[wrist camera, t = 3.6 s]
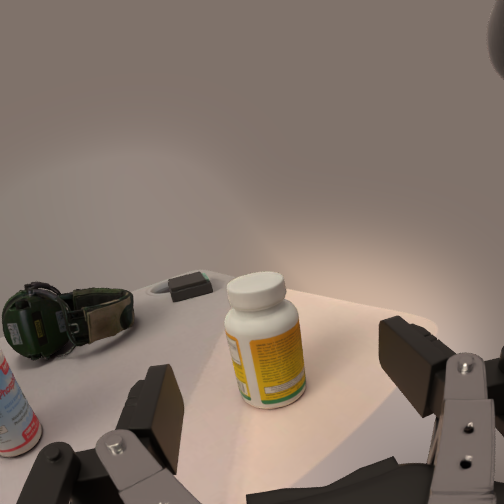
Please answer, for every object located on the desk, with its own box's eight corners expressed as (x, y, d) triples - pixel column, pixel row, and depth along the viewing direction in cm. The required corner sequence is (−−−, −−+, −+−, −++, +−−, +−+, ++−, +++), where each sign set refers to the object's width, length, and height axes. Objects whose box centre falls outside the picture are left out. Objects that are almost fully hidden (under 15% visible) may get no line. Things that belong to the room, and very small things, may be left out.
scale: (205, 281, 57) (202, 270, 56) (213, 292, 50) (210, 279, 50) (169, 290, 55) (166, 279, 54) (173, 302, 48) (169, 289, 48)
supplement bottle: (229, 402, 23) (199, 294, 21) (261, 367, 28) (241, 268, 25) (290, 417, 20) (271, 298, 18) (316, 375, 25) (304, 267, 23)
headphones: (6, 350, 24) (158, 311, 38) (-11, 255, 29) (120, 237, 44) (22, 392, 31) (138, 357, 46) (0, 313, 37) (106, 292, 51)
